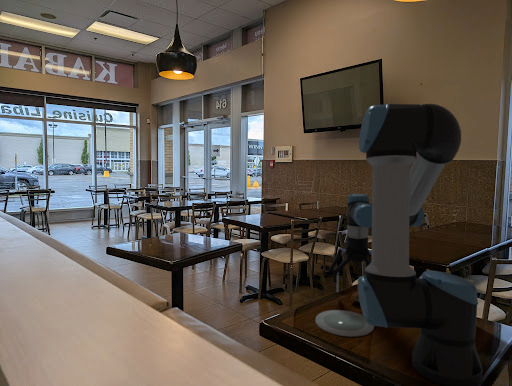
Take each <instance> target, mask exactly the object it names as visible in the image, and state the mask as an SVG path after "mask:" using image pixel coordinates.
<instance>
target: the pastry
mask: <svg viewBox="0 0 512 386" xmlns="http://www.w3.org/2000/svg"><path fill="white" fill-rule="evenodd" d="M350 299H351V300H353V301H354V302H355V301H356V302H357V303H360V301H359V294H358V291H356V292H353V293H352V294H351V295H350Z"/></svg>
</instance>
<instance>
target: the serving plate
mask: <svg viewBox="0 0 512 386" xmlns="http://www.w3.org/2000/svg"><path fill="white" fill-rule="evenodd" d="M315 324H316V325H317V327H318V328H319V329H321V330H323V332H327V333H329V334H332V335H336V336H342V337H351V338H353V337H362V336H366V335H369V334H371V333H372V332H373V331H374V330H375V326H373V325H370V324H368V323H367V321H366V320H365V318H364V316H363V313H359V312H354V311H350V310H343V309H342V310H341V309H332V310H331V309H330V310H325V311H321V312H320V313H318V314H317V315H316V317H315Z"/></svg>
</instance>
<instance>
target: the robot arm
mask: <svg viewBox="0 0 512 386" xmlns="http://www.w3.org/2000/svg"><path fill="white" fill-rule="evenodd" d="M461 143H462V129H461V126H460V123H459V122H458V120H457V118H456V116H455V115H454V114H453V113H452V112H451V111H450V110H449V109H447V108H446V107H444V106H441V105H439V104H436V103H423V104H422V103H419V104H417V103H415V104H413V103H409V104H408V103H386V104H374V105H371V106H369V107H368V109H366V111H365V114H364V116H363V119H362V122H361V127H360V131H359V141H358V148H359V151H360V152H361V153H363V154H365V156H366V157H365V160H366V162H368V164H369V165H370V166H371V167H372V169H371V170H372V171H371V173H372V176H371V177H372V178H371V179H372V181H371V183H372V185H371V203H370V197H369V195H367V194H362V193H360V194H359V193H358V194H357V193H353V194H349V195H348V196H347V203H346V205H347V216H346V217H347V219H346V220H347V225H346V235H347V237H346V248H342V247H338V249H337V253H336V254H335V255H336V256H335V257H334V258H333V261H332V262H331V264H330V265H329V267H328V273H329V274H332V275H333V279H332V281H333V283H334V284H336V288H335V289H336V293H339V291H340V290H339V289H340V285H339V284H340V282H339V281H340V272H341V270H343V268H345V267H346V266H347V264H349V263H350V262H354V263H355V262H356V263H357V262H359V263H362V262H365V264H366V265H367V266H366V267H365V268H364V275H361V276H359V277H358V278H357V292H358V294H359V301H360V302H359V304H360V309H361V312H362V313H361V314H362V315H363V316H364V318H365V320H366V321H367V323H368V324H370V325H373V326H374V327H381V328H382V327H384V328H386V329H387V328H399V329H400V328H402V329H404V328H405V329H420V334H419V336H418V338H417V341H416V344H415V346H414V347H413V350H412V353H411V365H412V367H413V368H414V370H415V371H416V373H417V372H418V374H419V375H421V376H422V377H424V378H426V379H427V380H429V381H432V382H434V383H437V384H440V385H443V386H479V385H480V384H481V383H482V382H483V366H482V363H481V360H480V357H479V354H478V350H477V347H476V334H477V331H476V330H477V316H478V315H477V314H478V305H479V302H478V289H477V286H476V284H475V283H474V284H473V283H472V282H470V281H468V280H469V279H467V278H464V277H461V276H458V275H455V274H451V273H448V272H444V271H437V270H428V271H427V270H425V271H424V273H422V274H423V275H422V274H421V275H422V278H421V279H419V278H420V277H418V278H417V273H416V271H415V270H414V268H412V266H411V265H410V227H420V226H421V225H423V222H424V217H425V215H424V214H425V213H424V208H423V205H424V203H425V201H426V200H427V197H428V196H429V194H430V192H431V190H432V189H433V187H434V185H435V184H436V182H437V180H438V179H439V177H440V175H441V173H442V171H443V170H444V168H445V166H446V165H447V164H449V163H451V162H452V161H453V160H454V159H455V158H456V155H457V154H458V152H459V150H460V147H461ZM370 228H371V249H369V238H368V237H369V229H370ZM344 253H345V254H346V257H345V258H344V259H343V261H341V262H340V263H339V265H337V264H338V262H339V260H340V258H341V256H343V255H344ZM369 255H371V261H370V259H369V258H368V256H369ZM336 266H337V267H336ZM335 267H336V268H335ZM466 279H467V280H466Z"/></svg>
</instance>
